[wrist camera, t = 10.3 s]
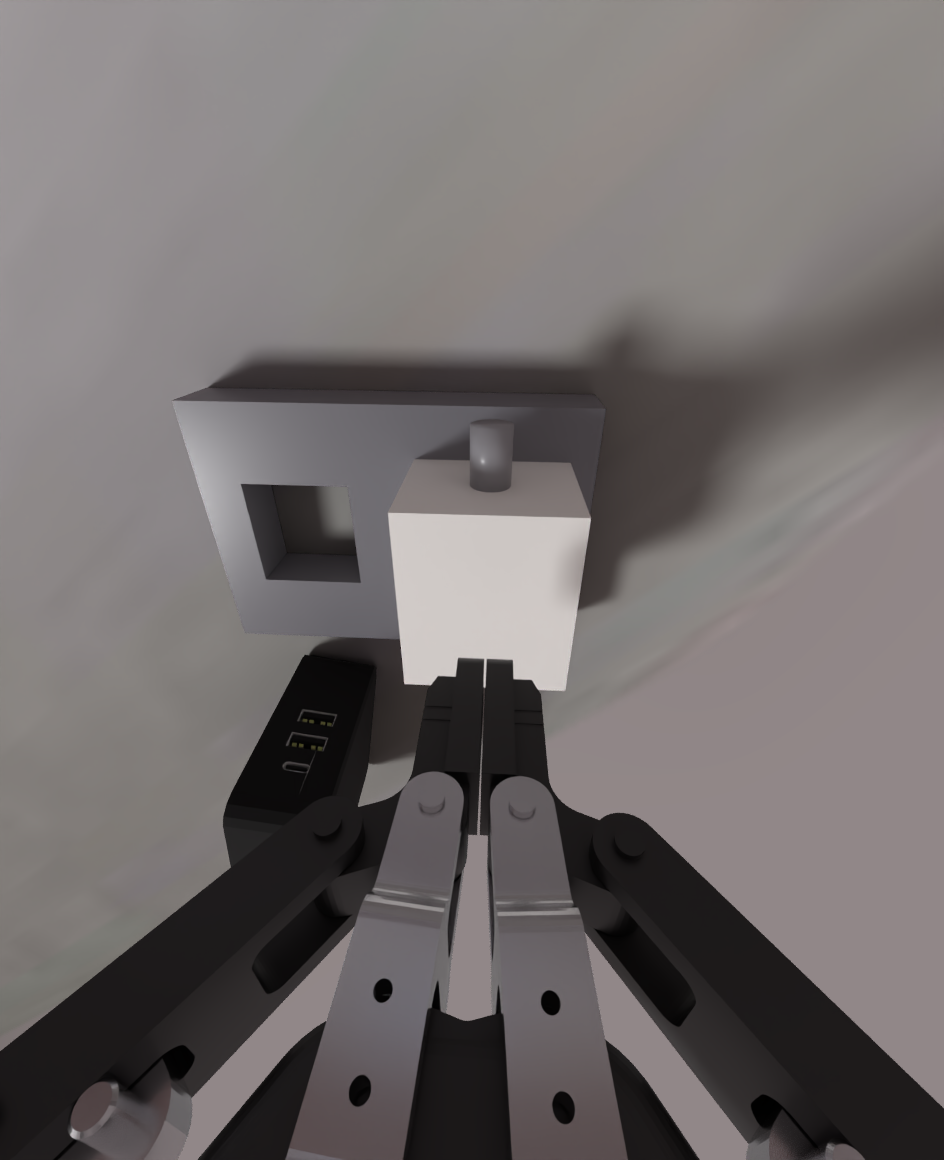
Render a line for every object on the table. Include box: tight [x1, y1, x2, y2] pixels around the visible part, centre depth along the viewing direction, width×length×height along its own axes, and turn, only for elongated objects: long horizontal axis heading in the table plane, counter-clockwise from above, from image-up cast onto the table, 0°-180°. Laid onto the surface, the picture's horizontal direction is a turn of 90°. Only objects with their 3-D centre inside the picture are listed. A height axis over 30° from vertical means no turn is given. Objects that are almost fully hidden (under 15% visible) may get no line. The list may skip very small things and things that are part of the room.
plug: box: [388, 419, 591, 691], centre depth 18 cm, size 9×6×7 cm, turn 0°
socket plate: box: [172, 388, 606, 639], centre depth 21 cm, size 11×16×2 cm
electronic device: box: [223, 655, 376, 867], centre depth 26 cm, size 4×10×10 cm, turn 170°
